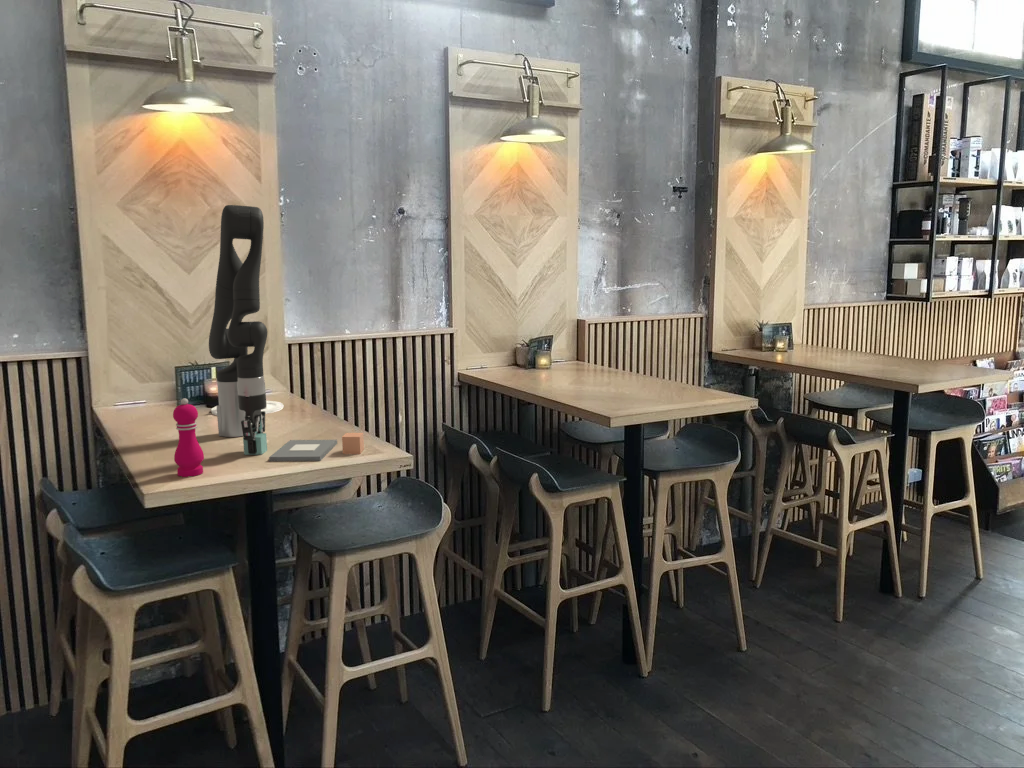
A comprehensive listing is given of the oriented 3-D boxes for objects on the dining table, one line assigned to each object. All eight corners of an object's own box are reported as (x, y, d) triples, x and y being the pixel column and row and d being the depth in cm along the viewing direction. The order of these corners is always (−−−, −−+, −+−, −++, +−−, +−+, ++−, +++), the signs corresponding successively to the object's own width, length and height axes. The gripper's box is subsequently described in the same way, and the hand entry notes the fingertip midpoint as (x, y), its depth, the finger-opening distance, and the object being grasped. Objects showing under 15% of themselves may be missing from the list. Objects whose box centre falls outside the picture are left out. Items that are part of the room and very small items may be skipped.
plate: (269, 461, 232) (269, 456, 232) (290, 444, 252) (290, 439, 251) (320, 460, 231) (320, 455, 231) (337, 443, 251) (336, 438, 251)
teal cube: (244, 454, 240) (243, 437, 239) (250, 450, 244) (248, 433, 244) (261, 454, 239) (260, 437, 239) (267, 450, 244) (266, 433, 244)
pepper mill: (180, 470, 224) (174, 396, 220) (208, 469, 224) (202, 395, 221) (171, 478, 217) (165, 401, 213) (200, 477, 217) (194, 400, 214)
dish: (263, 401, 323) (261, 372, 321) (295, 410, 305) (293, 379, 303) (200, 410, 307) (197, 380, 305) (230, 420, 289) (227, 388, 287)
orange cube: (342, 454, 239) (342, 436, 238) (346, 449, 244) (345, 432, 243) (360, 454, 239) (359, 436, 238) (364, 449, 244) (363, 432, 243)
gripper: (247, 388, 246) (251, 445, 249) (229, 397, 232) (234, 457, 235) (272, 387, 246) (276, 444, 249) (256, 396, 232) (260, 457, 235)
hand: (255, 450), depth 242 cm, fingers closed on teal cube, 5 cm apart
